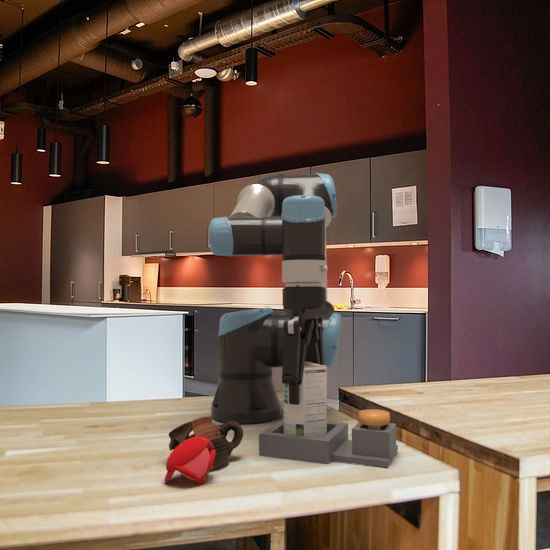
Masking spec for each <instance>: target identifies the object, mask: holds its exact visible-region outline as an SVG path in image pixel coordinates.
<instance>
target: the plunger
mask: <svg viewBox="0 0 550 550" xmlns="http://www.w3.org/2000/svg"><path fill="white" fill-rule="evenodd" d="M390 414H391V413H390V412H389V411H387V410H383V409H376V408H373V409H372V408H371V409H369V408H368V409H362V410H358V422H359V423H361V424H364V425H368V429H374V430H381V427H380V426H383V425H388V424H389V423H391V422H390V421H391V419H390V417H391V415H390Z"/></svg>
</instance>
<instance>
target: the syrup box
mask: <svg viewBox="0 0 550 550" xmlns="http://www.w3.org/2000/svg"><path fill="white" fill-rule="evenodd" d="M327 368H328V367H326V366H325V365H319V364H315V363H312V362H305V364H304V372H303V380H302V384H305V424H304V425H302V424H292V423H288V384H283V419H284V434H290V435H299V436H308V437H318V438H323V437H324V436H325V435H326V434H327V422H328V420H327V416H328V415H327V414H328V412H327V411H328V409H327V407H328V403H327V400H328V399H327V398H328V397H327V396H328V394H327V389H328V388H327V386H328V385H327V384H328V383H327V379H328V378H327V377H328V376H327V374H328V373H327ZM292 375H293V374H292Z"/></svg>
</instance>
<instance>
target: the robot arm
mask: <svg viewBox="0 0 550 550" xmlns="http://www.w3.org/2000/svg"><path fill="white" fill-rule="evenodd" d="M336 193H337V192H336V187H335V181H334V179H333V177H332V176H331V175H330V174H328V173H318V172H314V173H301V174H300V173H297V174H296V173H294V174H293V173H292V174H268V175H265V176H263V177H262V176H261V177H260V178H257V179H255V180H252V181H251V182H249V183H248V184H246V185H245V186H244V187H243V188H242V189H241V190H240V192H239V194H238V196H237V200H236V201H237V202H236V206H235V207H234V209H233V211H232V212H231V214H230V216H222V217H214V218H212V219H211V221H210V223H209V226H208V227H209V228H208V243H209V248H210V251H211V253H212V254H213V255H215V256H222V257H223V256H224V257H225V256H226V257H228V258H229V257H241V256H242V257H245V256H246V257H247V256H282V260H281V269H282V270H281V282H282V284H283V285H285V286H283V288H282V290H281V291H282V307H283V308H282V313H274V310H273V309H272V307H262V308H252V309H245V310H239V311H233V312H227V313H225V314H222V315H221V316H220V320H219V326H218V327H219V329H218V334H217V337H218V361H219V362H218V364H219V365H218V371H219V373H218V374H219V375H218V384H217V388H216V391H215V394H214V397H213V400H212V403H211V407H210V410H211V412H210V417H211V419H213V420H215V421H217V422H221V423H222V422H223V423H226V422H229V421H235V422H237V423H239V424H240V425H241V424H245V425H246V424H247V425H248V424H258V423H267V422H271V421H274V420H277V419H279V418H280V417H281V414H282V413H281V411H282V410H281V409H282V408H281V403H280V399H279V397H278V393H277V390H276V388H275V387H276V386H275V384H274V380H273V368H282V371H281V372H282V373H281V384H283V385H284V384H288V423H292V424H302V425H304V424H305V384H302V380H303V372H304V364H305V362H312V363H315V364H319V365H325V366H326V367H327V368H330V367H331V368H332V367H333V366H334V365H335V364H336V363H337V361H338V353H339V344H340V336H341V329H342V328H341V325H342V315H341V314H340V313H337V312H335V307H334V305H333V303H331V302H330V301H329V300H328V273H327V272H328V270H329V267H328V265H327V264H328V263H327V227H329V225H330V224H331V222H332V219H334V218H336V216H337V213H338V203H337V197H336ZM292 374H293V375H292Z"/></svg>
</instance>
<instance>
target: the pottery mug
mask: <svg viewBox="0 0 550 550" xmlns="http://www.w3.org/2000/svg"><path fill="white" fill-rule="evenodd" d="M212 419H213V418H212V417H211V415H210V416H209V415H208V416H202V417H200V418H199V417H198V418H195V419H193V420H190V421H187V422H185V423H183V424H180V425H179V426H177V427H174V428H173V429H172V430H171V431H170V432H169V433H168V438H169V440H170V441H169V444H168V449H169V451H170V452H172V451H173V450H174V449H175V448H176V447H177V446H178V445H179V444H181V443H182V442H183V441H185V440H187V439H189V438H192V437H196V436H204V437H206V438H208V439H209V440H210V442H211V443H212V445H213V446H214V450H215V451H216V455H215V459H214V462H213V464H212V466H211V468H210V470H209V471H211V470H214V469H217V468H218V467H219V468H221V467H224V466H229V464H230V463H229V462H230V460H229V457H230V456H231V454H232V452H233V451H234V450H235V449H236V448H237V447H238V446H240V444H241V442H242V440H243V438H244V437H243V436H244V429H243V427H242V426H241V424H239V423H237V422H235V421H229V422H223V423H221V424H216V423H214V422H213V420H212ZM230 431H233V438H232V440H231V441H229V440H228V439H227V436H228V434H229V432H230ZM192 432H193V433H192ZM191 433H192V434H191ZM190 434H191V435H190Z"/></svg>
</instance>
